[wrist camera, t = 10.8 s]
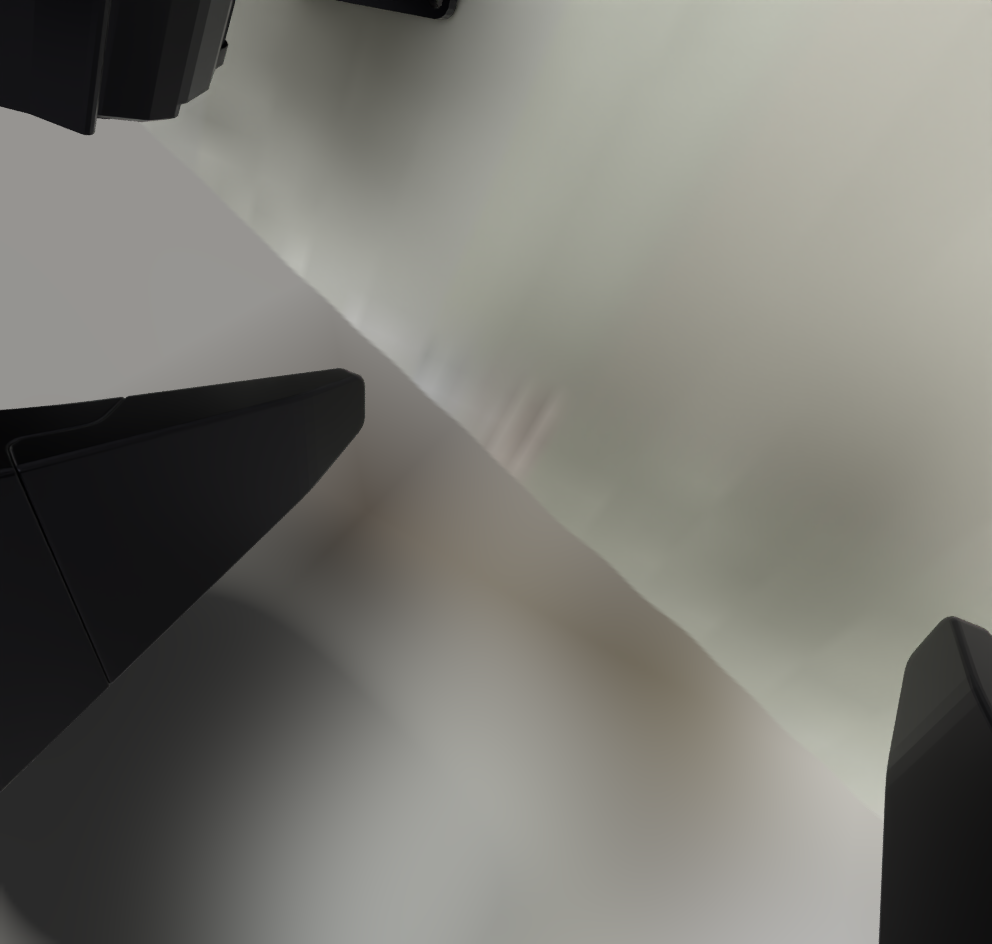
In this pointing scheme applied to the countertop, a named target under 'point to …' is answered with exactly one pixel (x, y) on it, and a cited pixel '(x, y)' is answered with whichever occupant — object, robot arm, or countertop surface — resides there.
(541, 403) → the countertop surface
